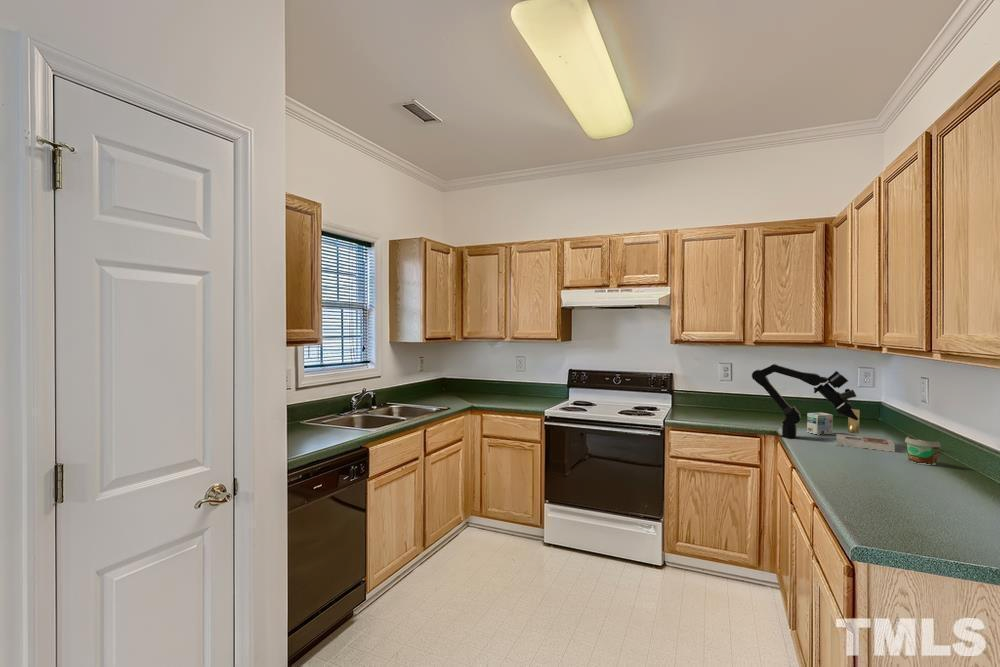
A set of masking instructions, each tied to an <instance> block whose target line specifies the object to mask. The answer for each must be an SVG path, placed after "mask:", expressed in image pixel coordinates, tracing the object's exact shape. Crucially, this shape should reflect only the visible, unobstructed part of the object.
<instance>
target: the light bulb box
mask: <svg viewBox="0 0 1000 667" xmlns="http://www.w3.org/2000/svg"><path fill="white" fill-rule="evenodd" d="M806 415H807V420H806V421H807V422H806V433H807V432H809V433H808V434H810V433H813V434H812V435H814V434H817V435H816V436H821V435H820V434H832V435H833V424H834V420H833V419H834V415H833V414H831V413H827V412H807V414H806Z"/></svg>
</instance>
